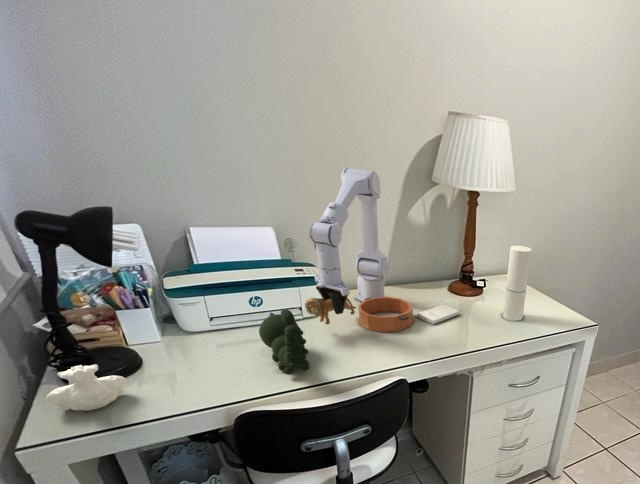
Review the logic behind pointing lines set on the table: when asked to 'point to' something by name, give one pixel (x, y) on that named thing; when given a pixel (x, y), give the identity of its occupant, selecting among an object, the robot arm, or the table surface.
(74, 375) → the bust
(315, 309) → the lion figurine
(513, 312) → the cylindrical container
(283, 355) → the toy figurine
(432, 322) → the hard drive
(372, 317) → the orange round basin
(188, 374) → the table surface
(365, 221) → the robot arm
